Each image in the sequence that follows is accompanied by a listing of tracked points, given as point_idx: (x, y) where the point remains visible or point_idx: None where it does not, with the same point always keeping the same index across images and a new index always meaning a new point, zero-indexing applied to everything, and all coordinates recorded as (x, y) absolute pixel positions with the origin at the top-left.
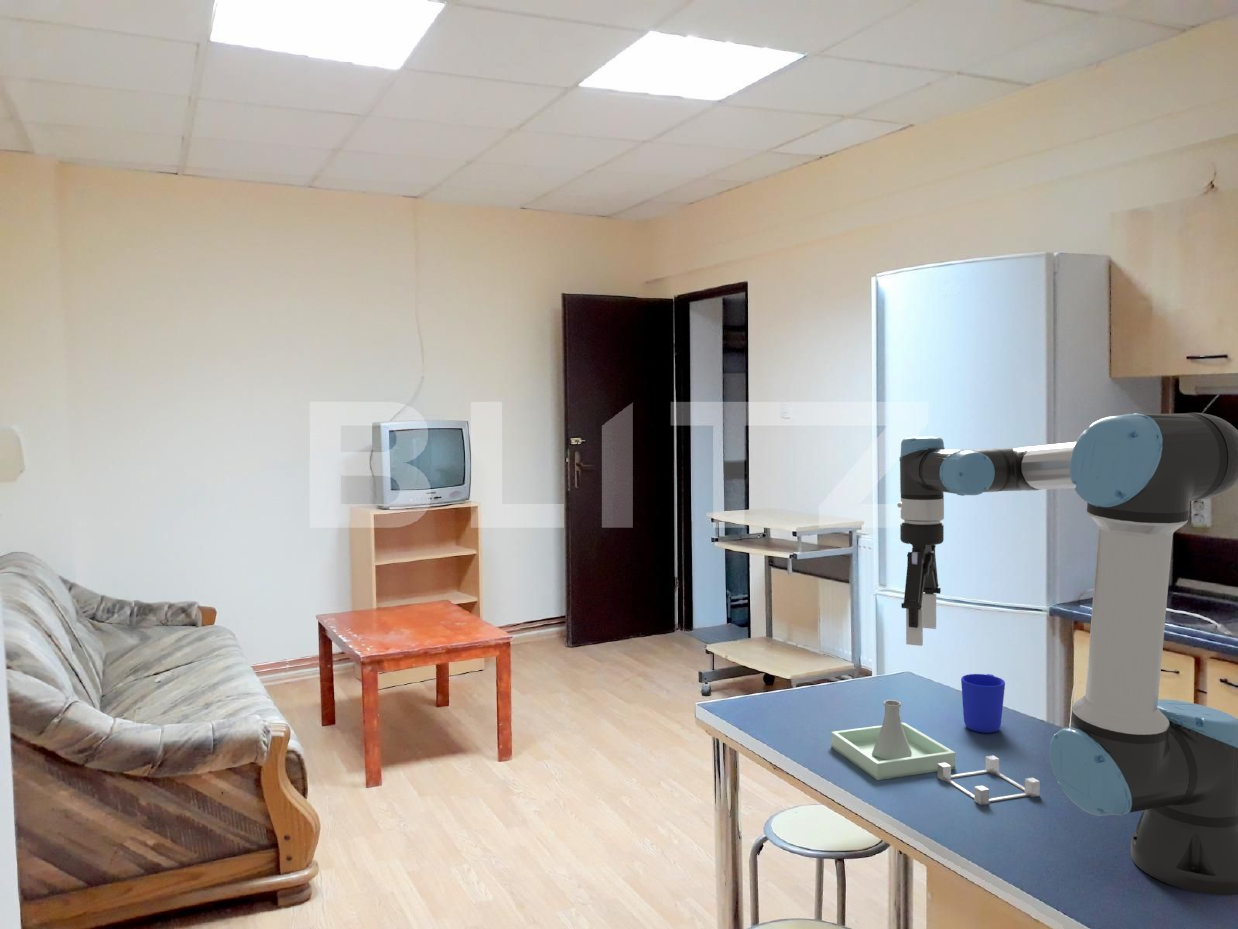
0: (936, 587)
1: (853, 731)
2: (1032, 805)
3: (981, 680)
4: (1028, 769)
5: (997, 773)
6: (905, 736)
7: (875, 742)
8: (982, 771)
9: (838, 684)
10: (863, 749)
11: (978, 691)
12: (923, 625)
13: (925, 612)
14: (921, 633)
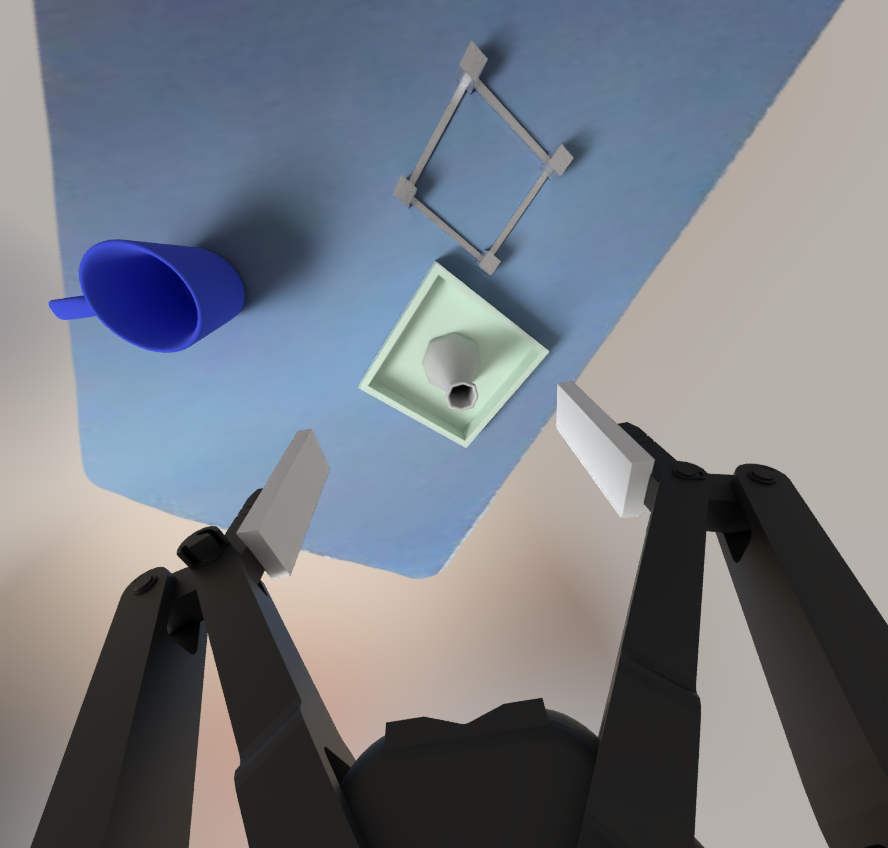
0: (169, 573)
1: (443, 428)
2: (517, 59)
3: (119, 315)
4: (346, 124)
5: (416, 178)
6: (441, 355)
7: (419, 398)
8: (425, 208)
9: None
10: None
11: (204, 293)
12: (324, 467)
13: (308, 495)
14: (593, 402)
